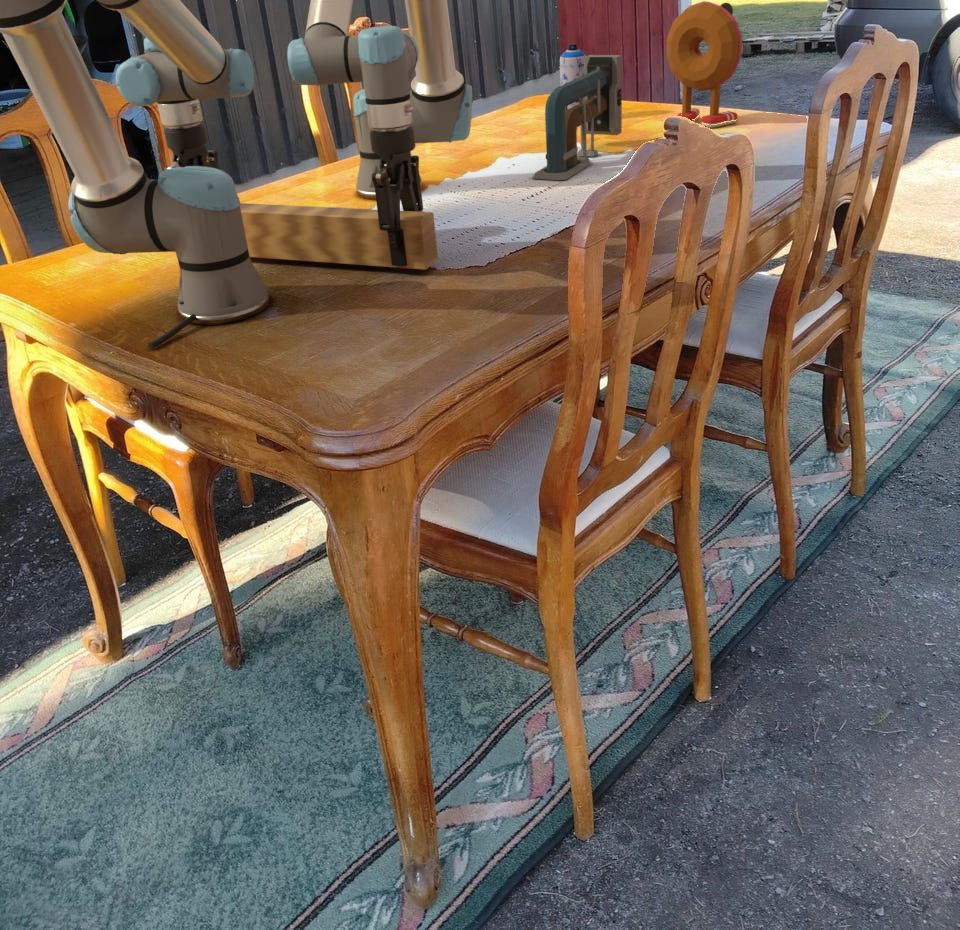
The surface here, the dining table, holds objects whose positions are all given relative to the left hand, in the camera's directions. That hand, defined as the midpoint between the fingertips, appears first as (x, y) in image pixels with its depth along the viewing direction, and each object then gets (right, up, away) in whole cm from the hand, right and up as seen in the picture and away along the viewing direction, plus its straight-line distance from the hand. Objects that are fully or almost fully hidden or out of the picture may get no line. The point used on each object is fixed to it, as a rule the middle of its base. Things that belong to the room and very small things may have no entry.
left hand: (210, 246), depth 191 cm
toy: (+114, +49, +70) cm, 142 cm away
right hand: (+40, -6, -16) cm, 44 cm away
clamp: (+77, +31, +45) cm, 95 cm away
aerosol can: (+81, +56, +87) cm, 131 cm away
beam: (+20, -4, -8) cm, 22 cm away
